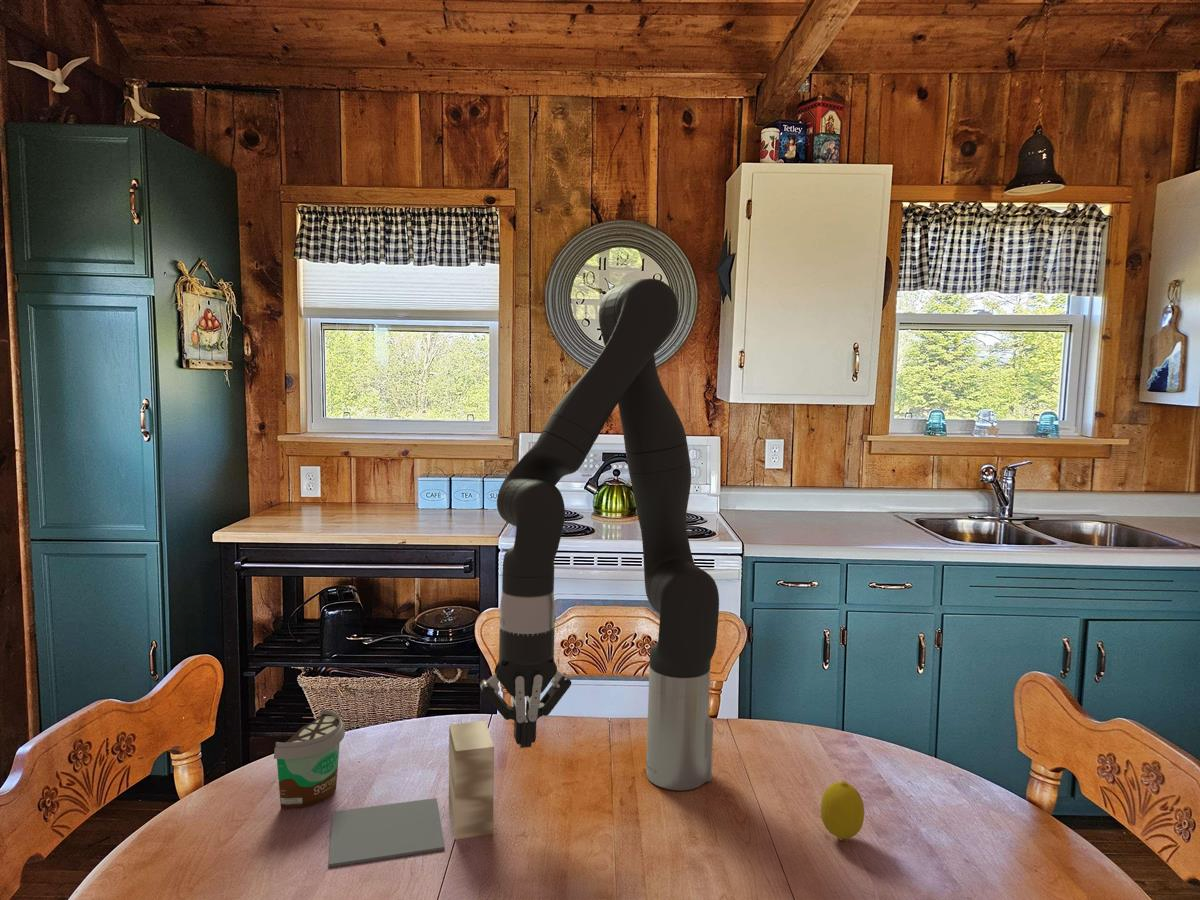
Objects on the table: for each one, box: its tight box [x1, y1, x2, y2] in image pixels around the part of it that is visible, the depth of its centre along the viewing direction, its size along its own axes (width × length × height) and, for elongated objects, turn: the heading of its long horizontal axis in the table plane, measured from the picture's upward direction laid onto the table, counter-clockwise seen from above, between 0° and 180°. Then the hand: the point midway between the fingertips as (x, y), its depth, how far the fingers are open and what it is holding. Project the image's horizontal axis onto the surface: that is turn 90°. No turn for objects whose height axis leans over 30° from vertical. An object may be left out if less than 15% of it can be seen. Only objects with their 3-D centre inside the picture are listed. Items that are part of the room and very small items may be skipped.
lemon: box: [820, 780, 865, 840], centre depth 102 cm, size 6×6×8 cm
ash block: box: [448, 720, 495, 840], centre depth 104 cm, size 5×8×12 cm, turn 17°
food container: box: [273, 708, 346, 810], centre depth 110 cm, size 12×6×10 cm, turn 168°
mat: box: [328, 797, 446, 868], centre depth 101 cm, size 14×12×1 cm
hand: (524, 745), depth 106 cm, fingers closed
